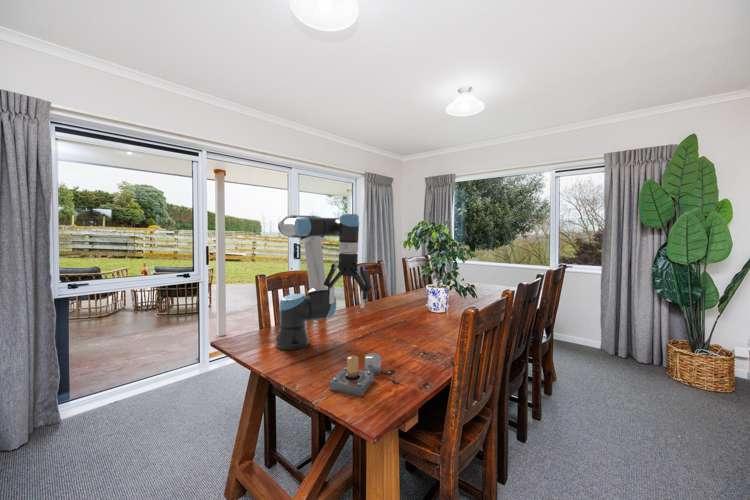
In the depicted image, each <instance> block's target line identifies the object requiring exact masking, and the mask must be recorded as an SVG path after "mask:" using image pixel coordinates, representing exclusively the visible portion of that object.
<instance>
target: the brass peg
mask: <svg viewBox="0 0 750 500" xmlns="http://www.w3.org/2000/svg"><path fill="white" fill-rule="evenodd" d="M346 367H347V379H348V380H357V379H358V370H359V356H357V355H354V354H353V355H348V356H346Z"/></svg>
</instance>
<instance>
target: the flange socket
mask: <svg viewBox="0 0 750 500" xmlns="http://www.w3.org/2000/svg"><path fill="white" fill-rule="evenodd" d="M374 382H375V375H374V372H370V371H364V370H362V369H358V379H357V380H348V379H347V366H344V367H343V368H342V369H341V370H339V372H338V373H336V375H334V377H333V378H331V379H330V380H329V391H334V392H338V393H344V394H349V395H353V396H358V397H363V396H364V394H365V393H366V392H367V391H368V389H369V388H370V386H372V384H373V383H374Z"/></svg>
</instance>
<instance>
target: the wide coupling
mask: <svg viewBox="0 0 750 500" xmlns="http://www.w3.org/2000/svg"><path fill="white" fill-rule="evenodd" d="M363 371H370V372H374V376H377V375H379V374H381V373H382V355H381V354H379V353H376V352H375V353H374V352H370V353H366V354H365V355H364V370H363Z"/></svg>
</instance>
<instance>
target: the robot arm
mask: <svg viewBox="0 0 750 500" xmlns="http://www.w3.org/2000/svg"><path fill="white" fill-rule="evenodd" d="M359 218H360V217H359V215H358V214H356V213H341V214H339V217H321V216H319V215H299V214H298V215H297V214H294V215H292V214H291V215H285V216H283V217H282V218H281V219H280V220H279V221H278V223H277V224H278V225H277V228H278V232H280V234H281V235H282V236H284V237H287V238H292V239H295V238H297V239H300V243H302V244H303V247H304V254H305V261H306V262H305V264H306V270H307V279H308V288H309V290H308V291H307V293H306V295H305V294H304V293H291V294H288V295H285V296H283V297H282V298H281V299H280V301H279V308H278V309H279V310H278V311H279V331H278V334H277V337H276V339H275V347H276V348H277V349H279V350H283V351H295V350H301V349H303V348H305V347H307V346H309V343H310V339H309V335H308V332H307V329H306V322H310V321H317V320H325V319H330V318H332V317H333V316H334V315H335V313H336V309H337V298H336V296H335V289H336V288H335V286H334V285H335V284H336V283H337V282H338V281H339V280H340V278H341V277H342V276H343V277H349V278H350V277H352V279H354V280H355V282H356V284H357V285H358V286H359V288H360V289H361V291H360V305H359V306H360V309H364V308H365V307H366V300H367V298H368V292H369V291H371V290H373V287H372V284H371V282H370V280H369V277H368V274H367V272H366V267H365V265H362V266H358V262H359V261H358V260H359V254H358V252H359V233H360V230H359V229H360V228H359V227H360V220H359ZM325 237H338V239H339V241H338V243H339V244H338V252H339V253H338V264H337V262H336V263H331V264H330V270H329V272H328V273H327V276H326V272H325V271H326V270H325V266H324V265H325V264H324V257H323V248H322V242H323V241H324V238H325ZM336 270H338V272H337V274H336V275H335V276H334V274H335V272H336ZM357 271H359V273H360V276H361V277H360V276H359V273H358V272H357ZM333 276H334V277H333Z"/></svg>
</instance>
